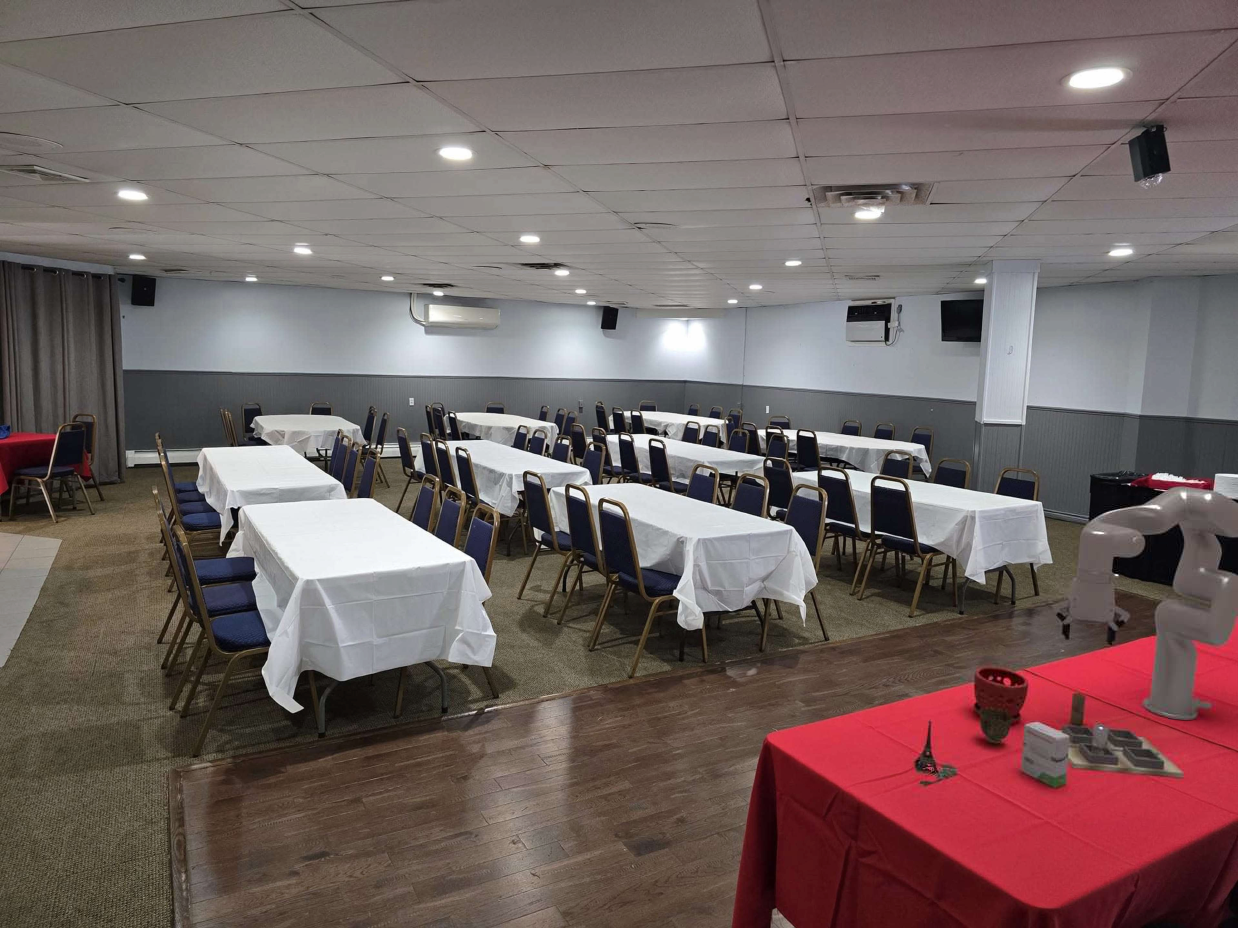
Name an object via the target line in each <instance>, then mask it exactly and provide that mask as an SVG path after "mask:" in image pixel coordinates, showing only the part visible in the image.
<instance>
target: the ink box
mask: <svg viewBox="0 0 1238 928" xmlns="http://www.w3.org/2000/svg"><path fill="white" fill-rule="evenodd" d="M1057 730H1058V729H1056V728H1052V727H1051V726H1048V725H1045V724H1043V723H1042V722H1039V721H1035V722H1029V723H1026V724H1024V725H1023V737H1022V738H1023V740H1022V752H1021V753H1022V754H1021V764H1020V765H1021V767H1020V771H1021V772H1022V773H1024V774H1026V775H1027V776H1030V777H1032V778H1034V779H1036V780H1038V781H1039V782H1042V783H1044V784H1046V785H1048V786H1049V787H1051V788H1054V789H1056V788H1058V787H1061V786H1064V785H1066V784H1067V775H1068V764H1069V762H1068V752H1069V739H1070V736H1068V735H1066V734H1064V733H1062V732H1059V731H1057Z"/></svg>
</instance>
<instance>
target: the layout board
mask: <svg viewBox="0 0 1238 928" xmlns="http://www.w3.org/2000/svg"><path fill="white" fill-rule="evenodd" d="M1056 730H1057V731H1059V732H1062V733H1064V734H1066V735H1068V736H1070V739H1069V752H1068V764H1069V765H1070V766H1071V767H1072V768H1073V769H1079V770H1082V769H1083V770H1089V771H1090V770H1092V771H1103V772H1112V773H1113V772H1114V773H1121V774H1122V773H1124V774H1135V775H1146V776H1159V777H1168V778H1169V777H1170V778H1180V779H1183V778H1184V772H1183V771H1182V770H1181V769H1180V768H1179V767H1178V766H1177V765H1175V764H1174V762H1172V761H1171V760H1170V759H1169V758H1168V757H1166V755H1164V753H1162V752H1161V751H1160V750H1159V749H1157V747H1155V746H1154V744H1152V743H1151V742H1150V741H1149V740H1148V739H1147V738H1146V737H1142V736H1141V737H1140V736H1138V735H1136V734H1135V733H1134V732H1133V731H1132V730H1130V729H1120V728H1119V729H1118V728H1109V727H1108V726H1107V725H1104V724H1101V723H1094V724H1093V729H1091V728H1090V727H1089V726H1075V725H1073V724H1071V725H1069V724H1062V729H1061V730H1059V729H1056Z"/></svg>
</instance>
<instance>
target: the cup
mask: <svg viewBox="0 0 1238 928" xmlns="http://www.w3.org/2000/svg"><path fill="white" fill-rule="evenodd" d="M979 721H980V730H981V732H982V733H983V735H985V736H986V737H985V740H986V742H987V743H989V744H990V745H993V746H999V745H1001V744H1002V742H1003V740H1004V739H1005V738H1007V737H1008V736H1009V732H1010V729H1011V725H1012V723H1011V721H1012V717H1010V713H1008V712H1007V710H1005V711H1002V710H1001V709H999V711H997V709H996V708H995V707H994V708H993V709H992V707H990V708H989V709H988V710H987V707H985V710H984V709H983V708H981V710H980V716H979Z"/></svg>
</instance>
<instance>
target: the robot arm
mask: <svg viewBox="0 0 1238 928" xmlns="http://www.w3.org/2000/svg"><path fill="white" fill-rule="evenodd" d="M1177 525H1179V528H1180V530H1181V532H1182V536H1183V539H1184V540H1183V541H1184V543H1183V551H1182V553H1181V557H1180V559H1179V563H1178V566H1177V568H1176V571H1175V575H1174V577H1173V578H1174V579H1173V581H1172V582H1173V583H1172V588H1173V590H1174V592H1175V593H1176V594H1178V595H1180V596H1182V597H1185V598H1187V599H1192V600H1195V601H1198V602H1203V603H1207V604H1210V606H1211V607H1210V608H1208V607H1206V606H1200V605H1198V604H1195V603H1191V602H1187V601H1183V600H1179V599H1166V600H1163V601H1161V602H1160V603H1158V605H1157V606H1156V609H1155V610H1154V611H1155V612H1154V622H1155V630H1156V631H1155V632H1156V635H1155V636H1156V641H1155V652H1154V660H1153V667H1152V669H1153V670H1152V678H1151V688H1150V696H1149V697H1146V698H1144V699H1143V700H1142V706H1143V707H1144V708H1145V709H1146V710H1148V711H1149V712H1151V713H1154V714H1156V715H1159V716H1162V717H1164V718H1169V719H1174V720H1182V721H1183V720H1184V721H1192V720H1196V719H1197V718H1198V711H1197V710H1199V709H1204V710H1211V709H1212V704H1211V701H1210V702H1209V701H1201V699H1200V698H1194V697H1193V694H1194V687H1195V686H1194V685H1195V677H1196V672H1197V671H1196V669H1197V661H1198V652H1197V648H1196V645H1195V643H1194V642H1198V643H1201V644H1204V645H1208V646H1210V647H1211V646H1212V647H1221V646H1223V645H1225V644H1227V642H1228V641H1229V639H1230V637H1231V636H1232V633H1233V631H1234V628H1235V625H1236V623H1237V622H1236V621H1237V619H1238V575H1237V574H1236V573H1233V572H1229V571H1227V570H1222V569H1218V568H1219V565H1220V561H1221V557H1222V555H1223V554H1222V553H1223V551H1222V546H1221V543H1220V542H1219V540H1218V538H1217V536H1224V537H1228V538H1238V502H1236V501H1235V500H1233V499H1232V498H1229V497H1228V496H1226V495H1225V494H1222V493H1221V492H1219V491H1214V490H1209V489H1202V488H1197V487H1195V488H1194V487H1187V486H1175V487H1171V488H1169V489H1167V490H1165V491H1164V492H1162V493H1160V494H1159V495H1157V496H1155V497H1154V498H1152V499H1151V500H1148V501H1147V502H1145V503H1143V504H1140V505H1134V506H1130V507H1124V508H1119V509H1114V510H1110V511H1107V512H1104V513H1102V514H1100V515H1098V516H1096V517H1095V518H1093V519H1091V520H1090V521H1088V523H1087V524H1086V525H1084V527H1083V529H1081V533H1080V540H1079V550H1078V559H1077V570H1076V577H1073V578H1072V581H1071V582H1070V588H1069V592H1068V596H1067V599H1065V600H1063V601H1060V602H1057V603H1054V604H1052V605H1051V607H1052V609H1053V611H1054V613H1055V615H1056V617H1057V618H1058V620H1060V621H1061V622H1062V626H1061V627H1062V629H1061V635H1062V636H1064V639H1065V640H1070V631H1071V625H1070V623H1071V622H1072V621H1073V620H1074V619H1077V620H1083V621H1092V622H1101V623H1107V624H1108V625H1109V626H1108V627H1107V631H1106V641H1105V642H1106V643H1107V645H1109V646H1112V645H1113V642H1115V641H1116V634H1117V631H1118V630H1119V629H1120V628H1121V627H1122V626H1124V625H1126V622H1127V621H1128V620H1129V619H1130V618H1131V614H1130V613H1129V612H1128V611H1126V610H1124V609H1122V608H1121V607H1119V606H1117V605H1115V604H1116V603H1115V601H1116V600H1115V598H1116V597H1115V587H1114V586H1115V585H1114V582H1112V581H1114V580H1119V574H1118V573H1117V574H1116V573H1114V572H1113V564H1114V563H1113V562H1114V557H1118V558H1133V557H1134V558H1135V557H1136V556H1138V555H1140V554H1141V553H1142V552H1143V550H1144V549H1145V545H1146V539H1145V537H1144V536H1146V535H1147V536H1149V535H1150V536H1151V535H1160V534H1163V533H1165V532H1166V533H1167V531H1169V530H1170V529H1172V528H1174V527H1175V526H1177ZM1143 535H1144V536H1143ZM1216 535H1217V536H1216ZM1063 608H1064V609H1065V608H1066V611H1067V613H1065V614H1064V615H1063V613H1062V612H1061V609H1063ZM1115 613H1117V614H1119V615H1120V618H1119V619H1116V620H1115V621H1114V619H1115Z"/></svg>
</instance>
